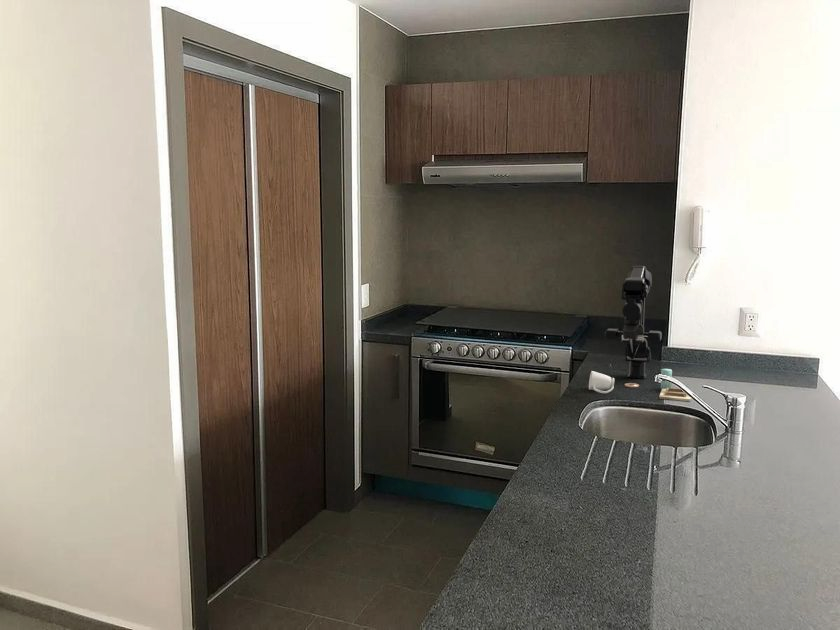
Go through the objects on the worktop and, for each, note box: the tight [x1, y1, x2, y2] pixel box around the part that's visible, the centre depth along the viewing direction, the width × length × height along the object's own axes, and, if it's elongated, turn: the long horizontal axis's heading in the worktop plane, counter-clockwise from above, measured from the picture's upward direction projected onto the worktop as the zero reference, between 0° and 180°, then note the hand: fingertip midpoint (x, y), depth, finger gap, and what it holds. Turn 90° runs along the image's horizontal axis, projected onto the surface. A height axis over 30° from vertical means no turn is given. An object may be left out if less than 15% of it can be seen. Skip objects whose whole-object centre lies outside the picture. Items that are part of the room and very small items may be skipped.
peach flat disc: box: [624, 382, 640, 388], centre depth 258 cm, size 5×5×1 cm
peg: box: [660, 368, 673, 390], centre depth 253 cm, size 4×4×7 cm
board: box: [658, 387, 692, 402], centre depth 243 cm, size 12×10×2 cm
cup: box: [588, 370, 615, 394], centre depth 252 cm, size 7×10×8 cm
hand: (632, 358), depth 249 cm, fingers closed
